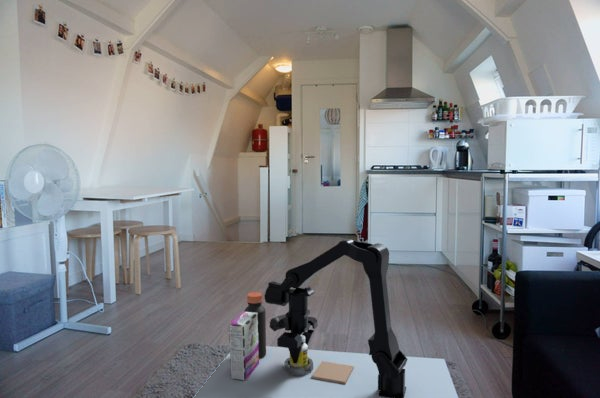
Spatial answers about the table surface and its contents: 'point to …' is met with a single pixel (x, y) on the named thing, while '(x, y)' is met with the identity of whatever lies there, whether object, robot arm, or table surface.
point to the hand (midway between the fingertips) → (298, 358)
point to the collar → (299, 370)
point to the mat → (333, 372)
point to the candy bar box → (244, 345)
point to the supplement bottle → (301, 356)
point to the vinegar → (256, 306)
